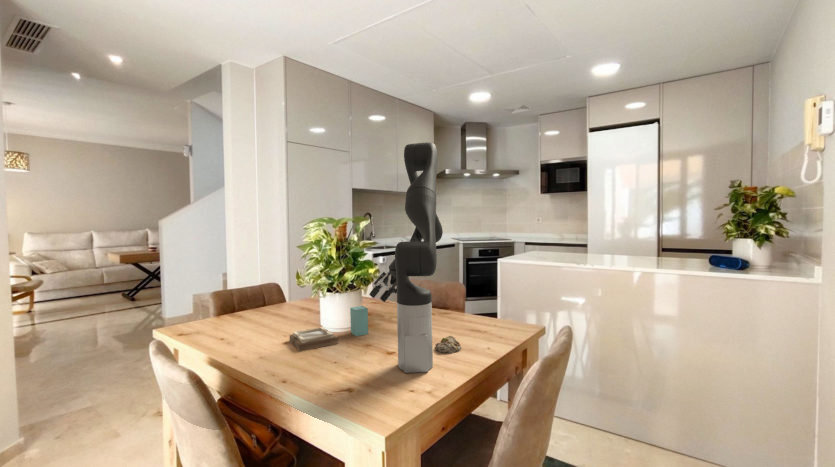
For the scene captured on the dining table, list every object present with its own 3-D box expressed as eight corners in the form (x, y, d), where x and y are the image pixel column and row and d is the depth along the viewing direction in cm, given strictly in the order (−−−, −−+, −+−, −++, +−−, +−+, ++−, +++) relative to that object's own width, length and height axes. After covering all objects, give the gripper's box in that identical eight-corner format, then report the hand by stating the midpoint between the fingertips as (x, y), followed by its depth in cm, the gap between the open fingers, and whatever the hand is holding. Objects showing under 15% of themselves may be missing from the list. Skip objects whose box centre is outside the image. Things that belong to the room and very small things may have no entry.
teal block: (368, 334, 130) (367, 308, 130) (356, 336, 128) (355, 310, 127) (362, 331, 134) (362, 305, 134) (350, 333, 131) (350, 307, 131)
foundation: (337, 343, 120) (337, 334, 120) (299, 351, 114) (299, 341, 114) (325, 334, 130) (324, 325, 130) (289, 341, 124) (289, 331, 124)
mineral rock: (459, 348, 108) (433, 338, 111) (455, 362, 109) (430, 352, 111) (466, 338, 119) (443, 329, 121) (463, 351, 119) (439, 342, 121)
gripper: (388, 255, 144) (361, 288, 138) (407, 258, 132) (378, 295, 127) (400, 268, 147) (374, 301, 142) (420, 272, 135) (392, 308, 130)
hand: (376, 298), depth 134 cm, fingers open, 8 cm apart
